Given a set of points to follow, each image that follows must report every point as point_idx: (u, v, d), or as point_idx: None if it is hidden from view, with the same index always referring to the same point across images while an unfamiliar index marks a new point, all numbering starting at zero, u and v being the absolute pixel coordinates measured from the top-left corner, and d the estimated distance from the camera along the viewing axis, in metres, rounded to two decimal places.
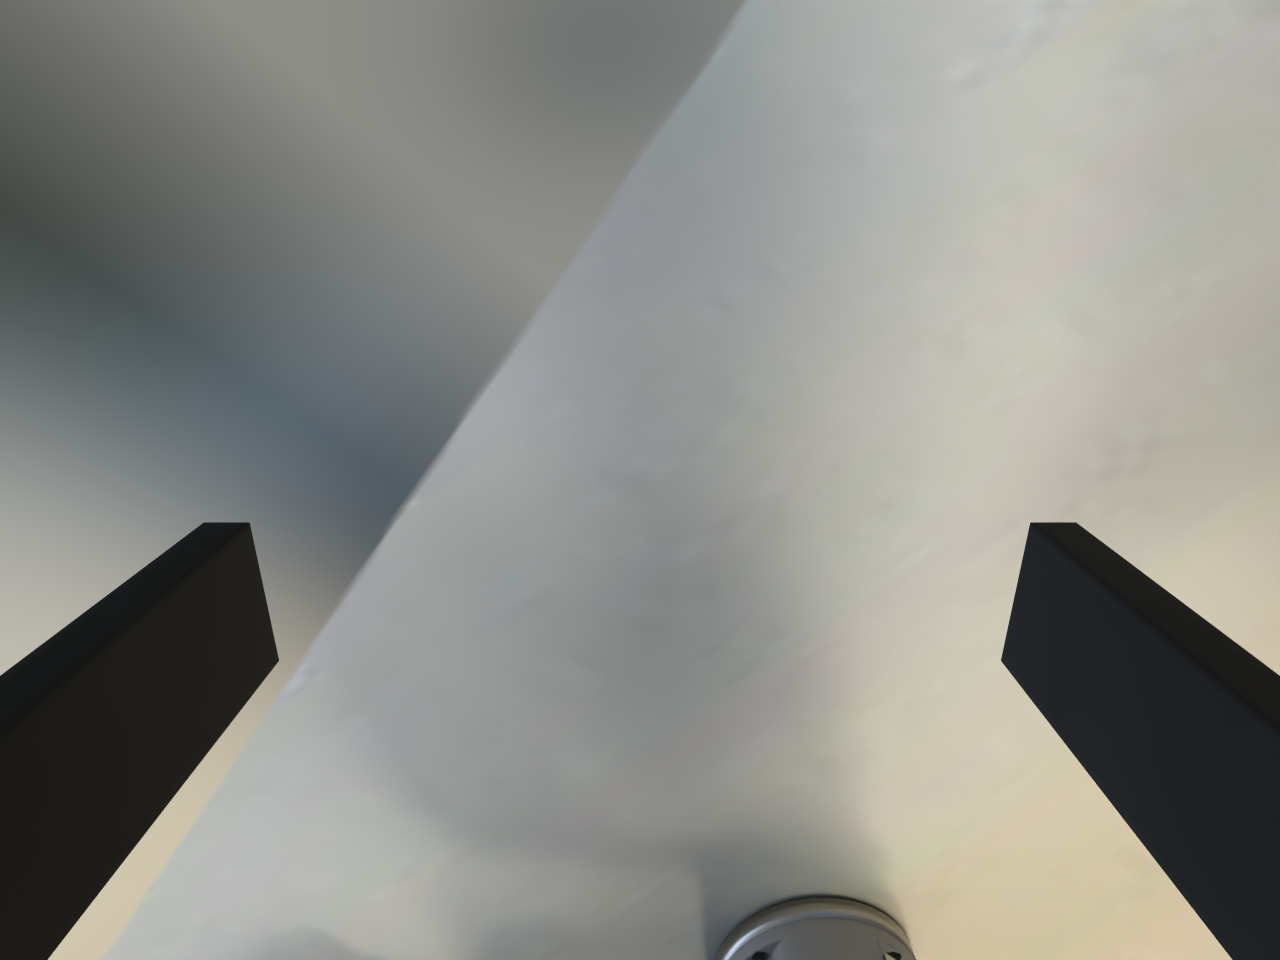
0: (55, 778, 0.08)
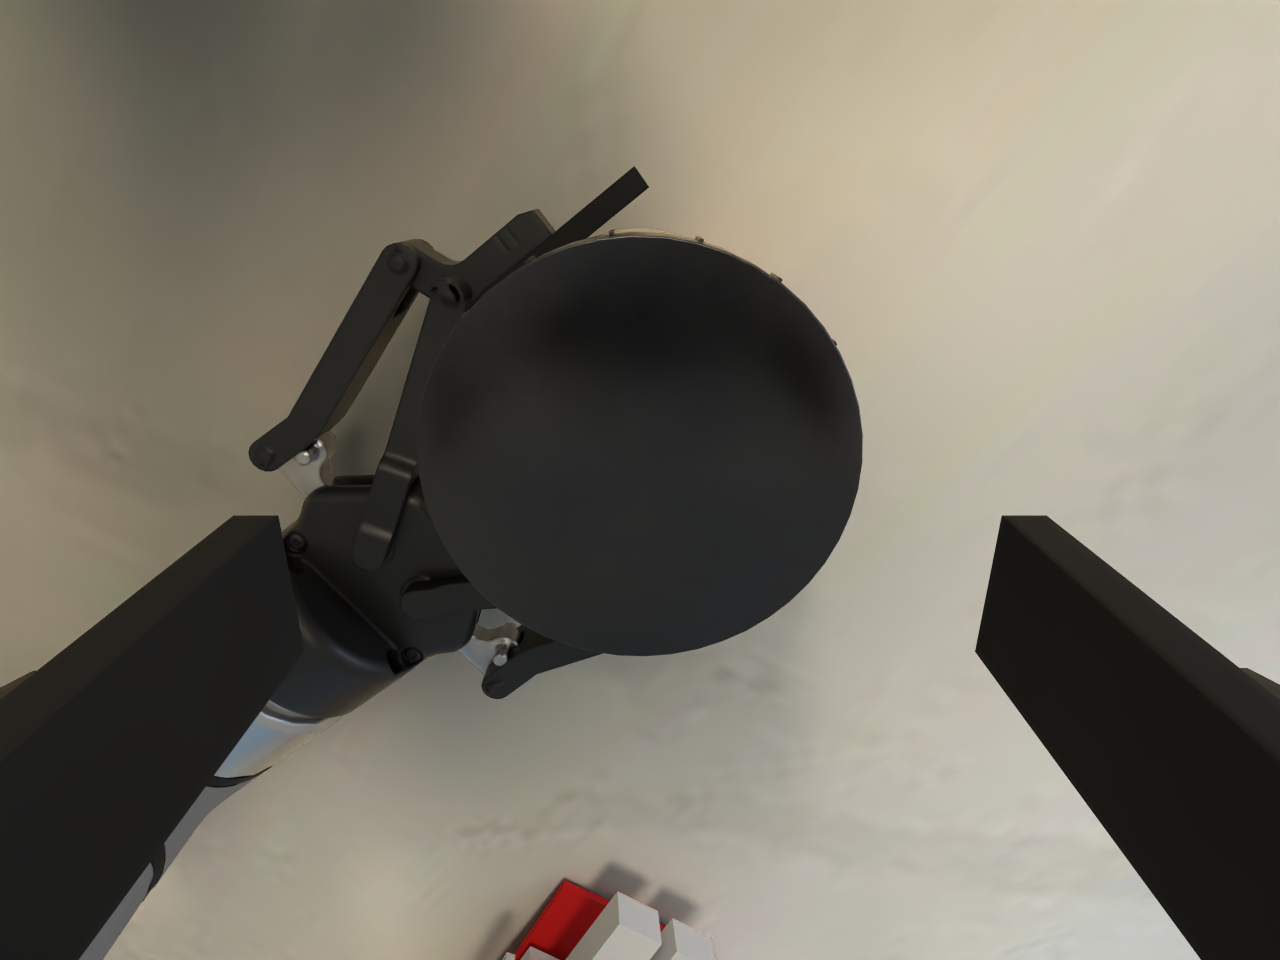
0: (103, 760, 0.08)
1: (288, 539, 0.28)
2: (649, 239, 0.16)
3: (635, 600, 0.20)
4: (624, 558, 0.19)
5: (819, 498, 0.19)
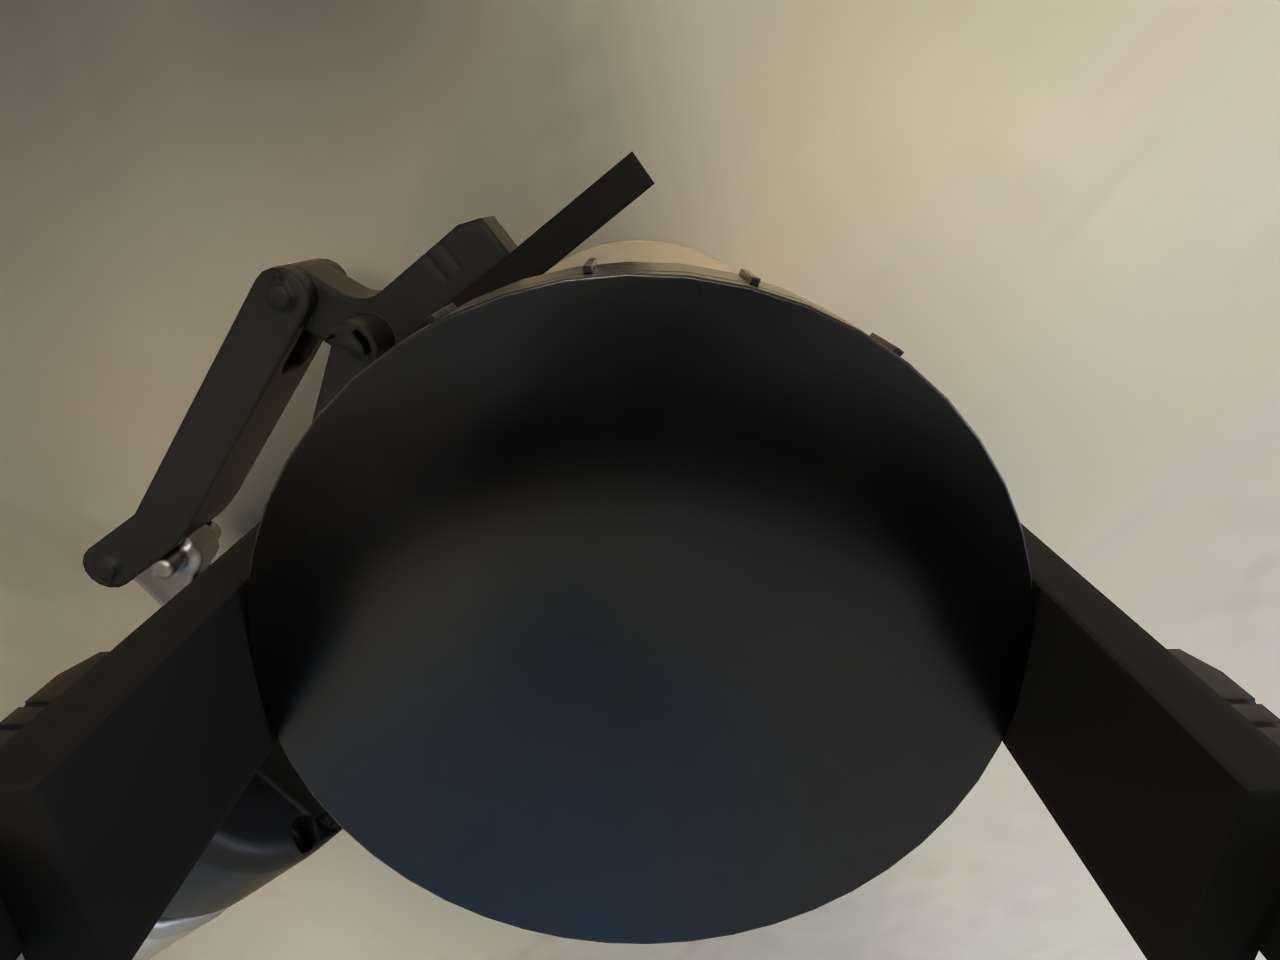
0: (176, 734, 0.09)
1: None
2: (659, 281, 0.08)
3: (633, 867, 0.12)
4: (614, 807, 0.11)
5: (949, 719, 0.11)
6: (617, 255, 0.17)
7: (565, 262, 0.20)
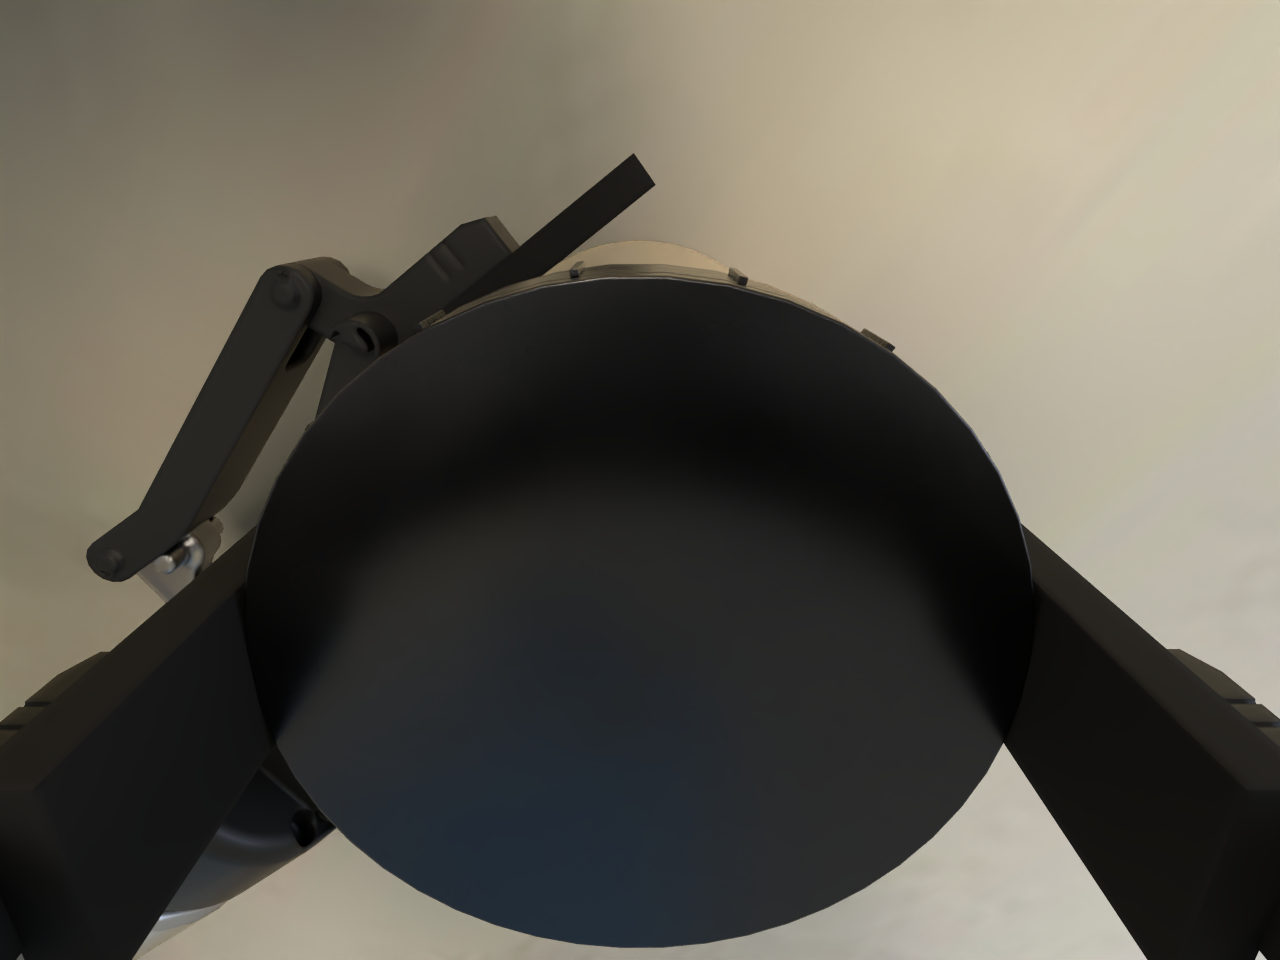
0: (176, 734, 0.09)
1: None
2: (286, 757, 0.11)
3: (902, 615, 0.10)
4: (817, 655, 0.10)
5: (588, 357, 0.09)
6: (618, 255, 0.17)
7: (566, 262, 0.20)
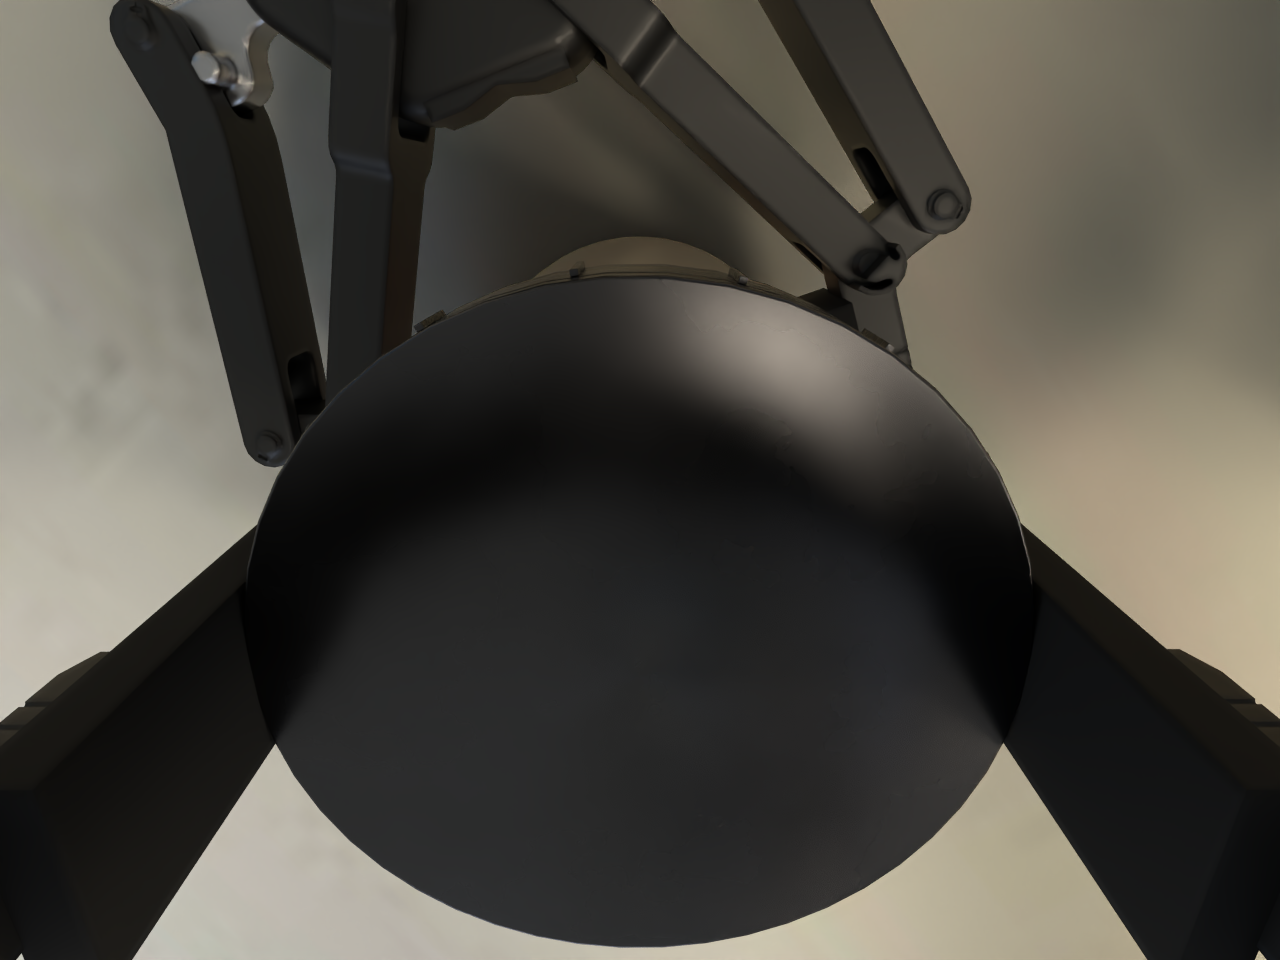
0: (176, 734, 0.09)
1: None
2: (286, 757, 0.11)
3: (902, 615, 0.10)
4: (817, 655, 0.10)
5: (588, 357, 0.09)
6: None
7: None
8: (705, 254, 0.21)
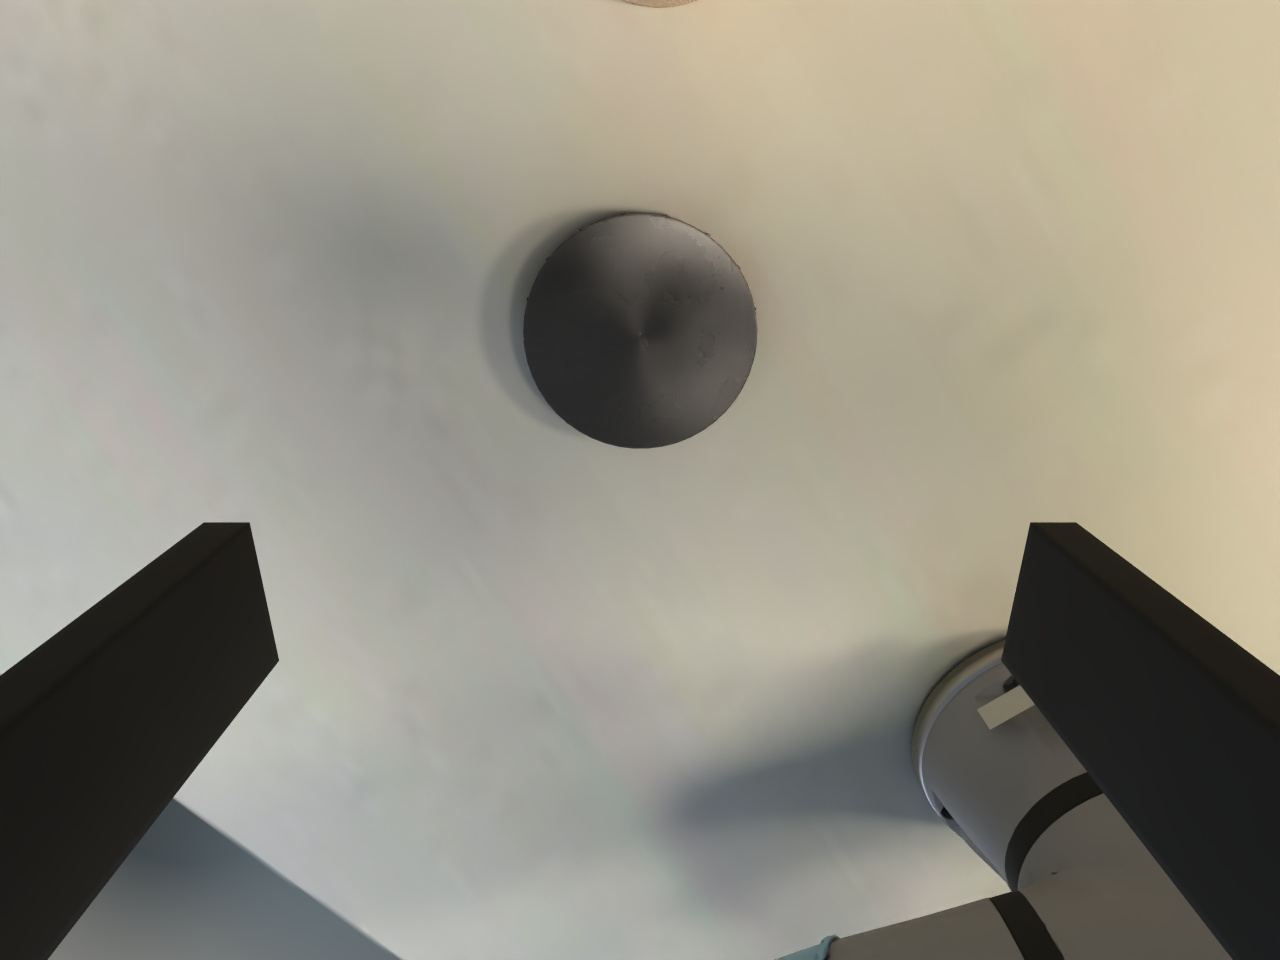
0: (55, 778, 0.08)
1: None
2: (530, 368, 0.35)
3: (717, 316, 0.34)
4: (693, 330, 0.35)
5: (626, 236, 0.33)
6: None
7: None
8: None
